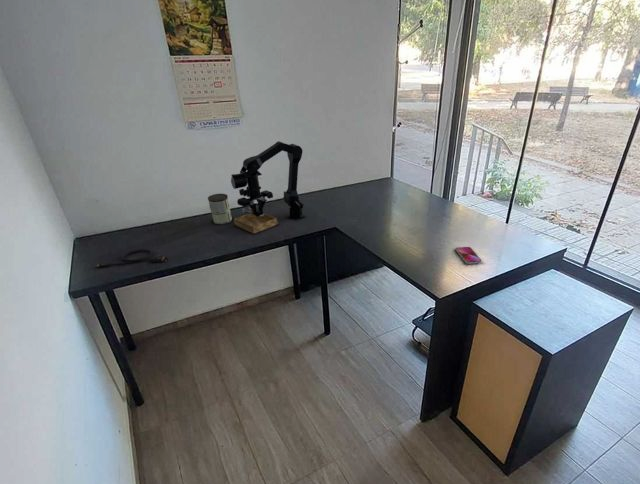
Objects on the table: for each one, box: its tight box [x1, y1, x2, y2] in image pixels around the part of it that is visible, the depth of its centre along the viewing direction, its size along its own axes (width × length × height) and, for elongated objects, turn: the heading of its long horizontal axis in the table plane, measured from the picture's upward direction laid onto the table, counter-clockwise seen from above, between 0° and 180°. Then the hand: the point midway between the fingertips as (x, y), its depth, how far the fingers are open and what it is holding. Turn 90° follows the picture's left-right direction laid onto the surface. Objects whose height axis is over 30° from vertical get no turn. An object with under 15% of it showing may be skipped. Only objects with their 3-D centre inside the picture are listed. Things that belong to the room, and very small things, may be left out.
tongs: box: [241, 206, 264, 217], centre depth 205 cm, size 14×6×3 cm, turn 49°
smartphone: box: [455, 246, 482, 265], centre depth 176 cm, size 7×1×15 cm
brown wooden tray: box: [233, 212, 279, 234], centre depth 208 cm, size 16×17×4 cm
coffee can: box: [207, 193, 233, 225], centre depth 211 cm, size 10×10×14 cm
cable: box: [96, 248, 166, 268], centre depth 178 cm, size 14×28×2 cm, turn 100°
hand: (257, 213), depth 203 cm, fingers closed on tongs, 3 cm apart
